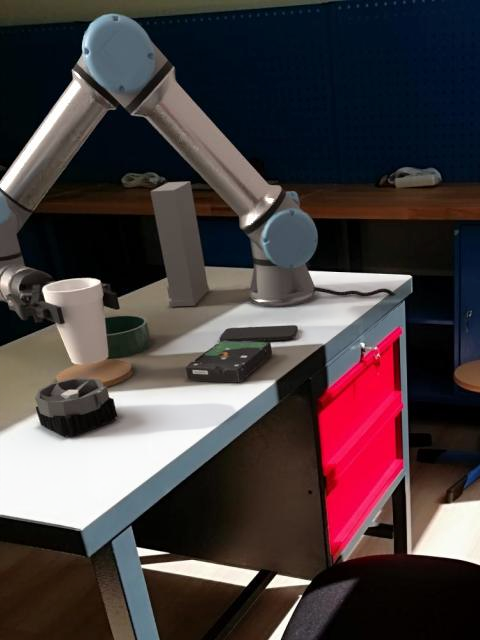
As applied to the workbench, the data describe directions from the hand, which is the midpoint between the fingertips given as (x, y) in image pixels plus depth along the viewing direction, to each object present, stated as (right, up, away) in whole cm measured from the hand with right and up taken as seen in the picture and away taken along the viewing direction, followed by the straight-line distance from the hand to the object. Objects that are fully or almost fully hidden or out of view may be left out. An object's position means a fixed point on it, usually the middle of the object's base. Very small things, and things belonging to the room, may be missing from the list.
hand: (89, 308), depth 128 cm
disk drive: (+22, -8, +10) cm, 26 cm away
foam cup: (-3, -7, +8) cm, 11 cm away
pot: (-4, -1, +24) cm, 24 cm away
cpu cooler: (+2, -20, -8) cm, 22 cm away
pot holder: (-3, -10, +9) cm, 14 cm away
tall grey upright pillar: (+3, +16, +53) cm, 56 cm away
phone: (+25, +1, +25) cm, 35 cm away
